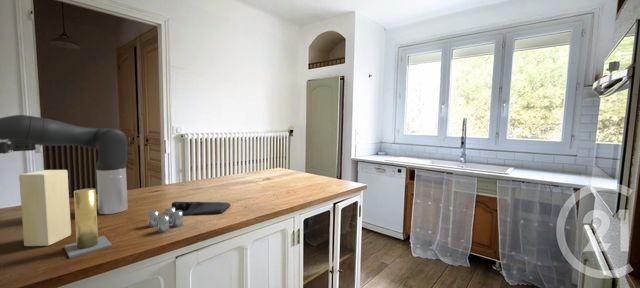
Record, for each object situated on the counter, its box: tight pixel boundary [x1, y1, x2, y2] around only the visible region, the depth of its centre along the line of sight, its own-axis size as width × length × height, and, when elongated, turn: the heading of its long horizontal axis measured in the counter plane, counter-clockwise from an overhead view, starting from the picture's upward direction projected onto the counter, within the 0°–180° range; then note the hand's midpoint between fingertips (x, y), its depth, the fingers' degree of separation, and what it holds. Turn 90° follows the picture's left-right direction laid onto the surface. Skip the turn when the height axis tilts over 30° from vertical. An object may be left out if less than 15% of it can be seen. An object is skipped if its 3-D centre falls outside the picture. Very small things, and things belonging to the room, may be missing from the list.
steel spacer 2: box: [157, 214, 170, 234], centre depth 87 cm, size 3×3×5 cm
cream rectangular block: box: [18, 169, 72, 247], centre depth 79 cm, size 8×7×21 cm
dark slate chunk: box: [171, 201, 232, 217], centre depth 109 cm, size 15×22×5 cm
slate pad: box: [63, 235, 113, 259], centre depth 76 cm, size 9×9×1 cm
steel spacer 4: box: [171, 210, 184, 228], centre depth 92 cm, size 3×3×5 cm
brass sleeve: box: [73, 188, 99, 249], centre depth 75 cm, size 5×5×16 cm
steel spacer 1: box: [147, 210, 160, 228], centre depth 92 cm, size 3×3×5 cm
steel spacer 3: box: [164, 206, 175, 225], centre depth 95 cm, size 3×3×5 cm
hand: (34, 144), depth 68 cm, fingers open, 8 cm apart
